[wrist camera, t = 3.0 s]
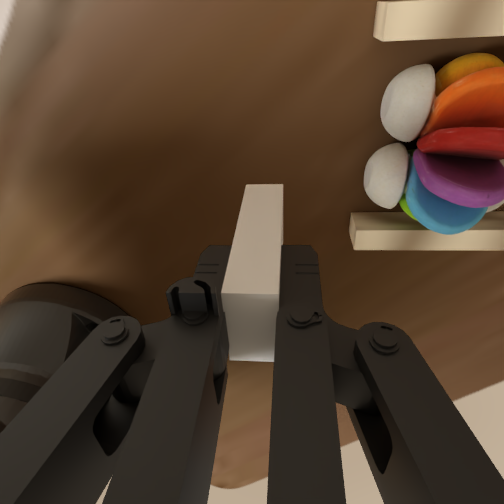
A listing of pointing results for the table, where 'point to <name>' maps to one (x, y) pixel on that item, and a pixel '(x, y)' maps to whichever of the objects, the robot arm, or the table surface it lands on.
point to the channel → (420, 28)
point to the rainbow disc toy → (443, 143)
